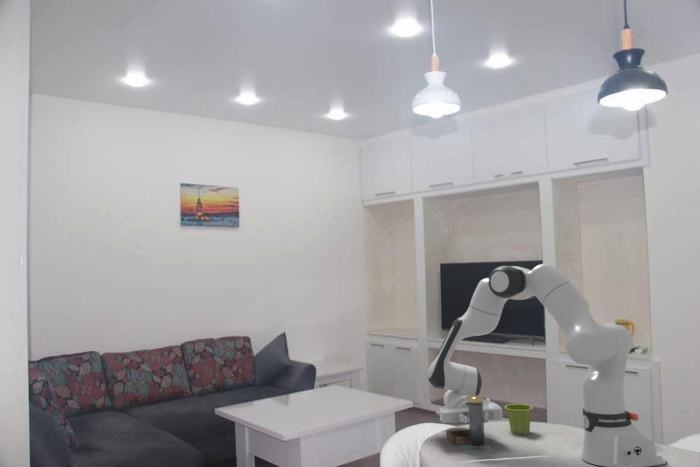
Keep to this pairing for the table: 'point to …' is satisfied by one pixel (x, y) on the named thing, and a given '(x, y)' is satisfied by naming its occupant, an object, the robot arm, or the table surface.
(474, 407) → the pepper mill
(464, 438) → the tray
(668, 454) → the table surface
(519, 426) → the plant pot
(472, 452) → the mat
